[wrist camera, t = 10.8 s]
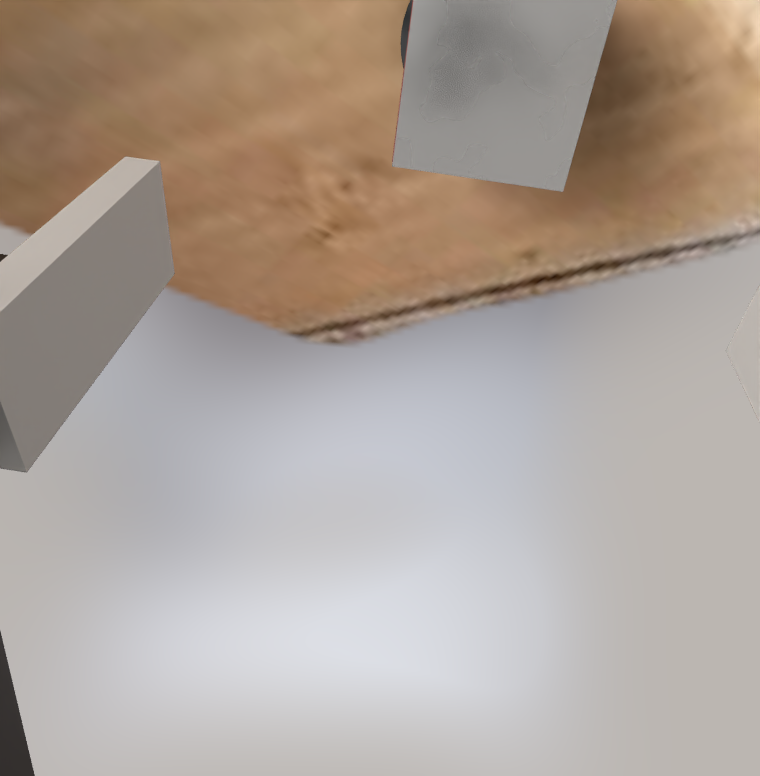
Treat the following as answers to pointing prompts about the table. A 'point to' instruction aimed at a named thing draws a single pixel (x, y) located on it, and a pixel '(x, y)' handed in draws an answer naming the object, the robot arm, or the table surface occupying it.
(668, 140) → the table surface
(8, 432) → the robot arm
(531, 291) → the table surface
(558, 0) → the red-striped grey block
